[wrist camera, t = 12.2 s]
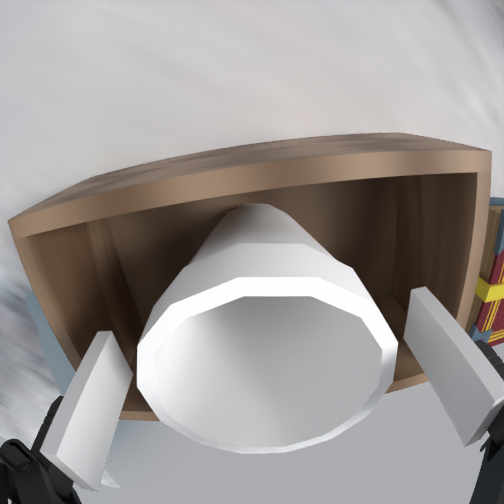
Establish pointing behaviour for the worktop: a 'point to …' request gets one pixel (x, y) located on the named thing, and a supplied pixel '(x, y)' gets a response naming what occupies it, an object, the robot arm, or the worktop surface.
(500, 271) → the decorative book
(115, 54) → the worktop surface
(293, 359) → the foam cup
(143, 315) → the open wooden box
